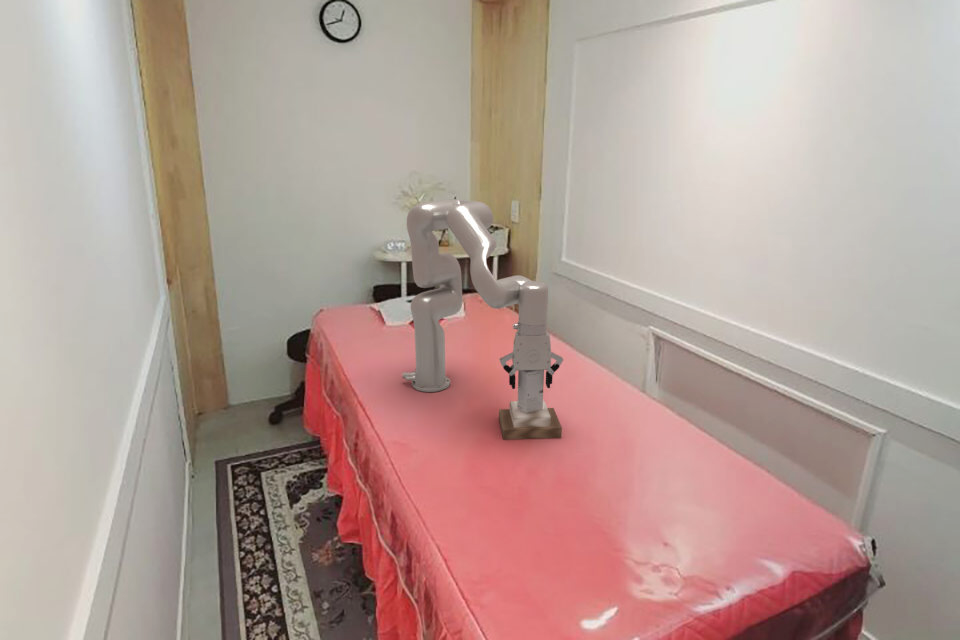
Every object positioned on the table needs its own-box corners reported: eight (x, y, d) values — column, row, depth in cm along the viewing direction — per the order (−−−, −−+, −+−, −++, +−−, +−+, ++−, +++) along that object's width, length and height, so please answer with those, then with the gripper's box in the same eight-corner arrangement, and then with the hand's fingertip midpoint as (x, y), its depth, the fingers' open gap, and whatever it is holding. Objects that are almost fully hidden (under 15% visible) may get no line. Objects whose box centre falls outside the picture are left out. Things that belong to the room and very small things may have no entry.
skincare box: (525, 414, 160) (526, 373, 156) (516, 407, 163) (517, 367, 159) (543, 409, 163) (545, 369, 159) (534, 402, 166) (535, 363, 162)
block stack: (503, 439, 158) (503, 419, 157) (498, 418, 170) (499, 400, 168) (561, 437, 160) (562, 418, 158) (553, 417, 171) (554, 398, 169)
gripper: (501, 333, 151) (500, 393, 157) (567, 332, 152) (564, 391, 158) (498, 324, 158) (497, 381, 164) (561, 322, 159) (558, 380, 165)
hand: (530, 386), depth 161 cm, fingers open, 9 cm apart
